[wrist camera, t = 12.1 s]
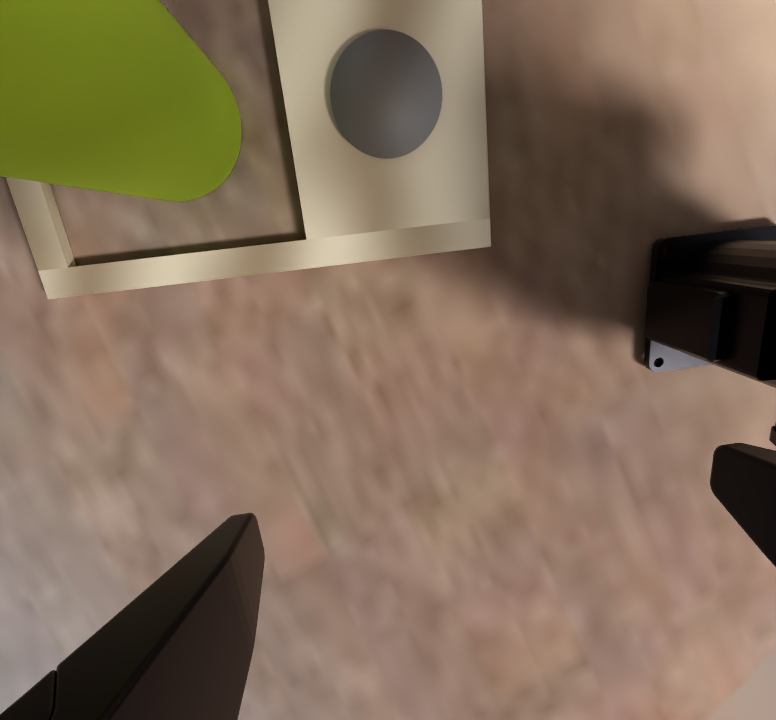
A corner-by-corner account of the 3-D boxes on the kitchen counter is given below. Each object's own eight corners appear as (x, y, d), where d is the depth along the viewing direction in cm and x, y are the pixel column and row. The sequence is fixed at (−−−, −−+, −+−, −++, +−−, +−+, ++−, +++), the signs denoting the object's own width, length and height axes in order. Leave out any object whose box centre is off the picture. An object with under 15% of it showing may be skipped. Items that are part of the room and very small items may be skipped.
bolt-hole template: (473, -97, 16) (480, -115, 15) (487, 246, 20) (492, 246, 19) (-62, -52, 15) (-87, -68, 14) (57, 297, 19) (43, 300, 18)
